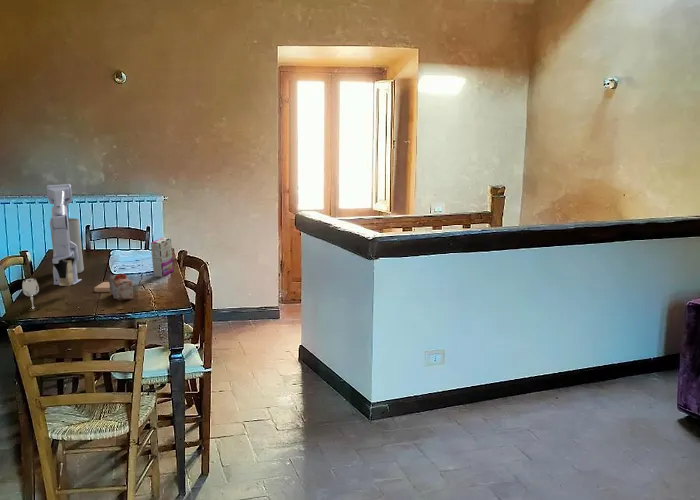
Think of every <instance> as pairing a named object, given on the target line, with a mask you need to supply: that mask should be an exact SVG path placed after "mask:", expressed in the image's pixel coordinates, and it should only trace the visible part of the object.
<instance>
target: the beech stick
mask: <svg viewBox="0 0 700 500" xmlns="http://www.w3.org/2000/svg"><path fill="white" fill-rule="evenodd" d="M63 261H64V262H68V263H67V267H66V278H60V276H59V284H60V285H59V286H61V287H63V286H65V287H70V286H72V284H73V271H72V260H63Z"/></svg>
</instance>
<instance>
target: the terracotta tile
mask: <svg viewBox="0 0 700 500" xmlns="http://www.w3.org/2000/svg"><path fill="white" fill-rule="evenodd" d="M94 293H110V284H109V281H103V282H101V283H100V284H98V285H96V286H95V287H94Z"/></svg>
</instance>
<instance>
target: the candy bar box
mask: <svg viewBox="0 0 700 500" xmlns="http://www.w3.org/2000/svg"><path fill="white" fill-rule="evenodd" d="M172 247H173V246H172V239H171V237H160V238H158V239H156V240H154V241H151V242H150V250H151V258H152V259H151V261H152V270H153V277H154V278H164V277H166V276H168V275H169V274H171V273H174V271H175V270H174V269H175V268H174V262H173V261H174V260H173V250H172V249H173V248H172Z"/></svg>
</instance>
